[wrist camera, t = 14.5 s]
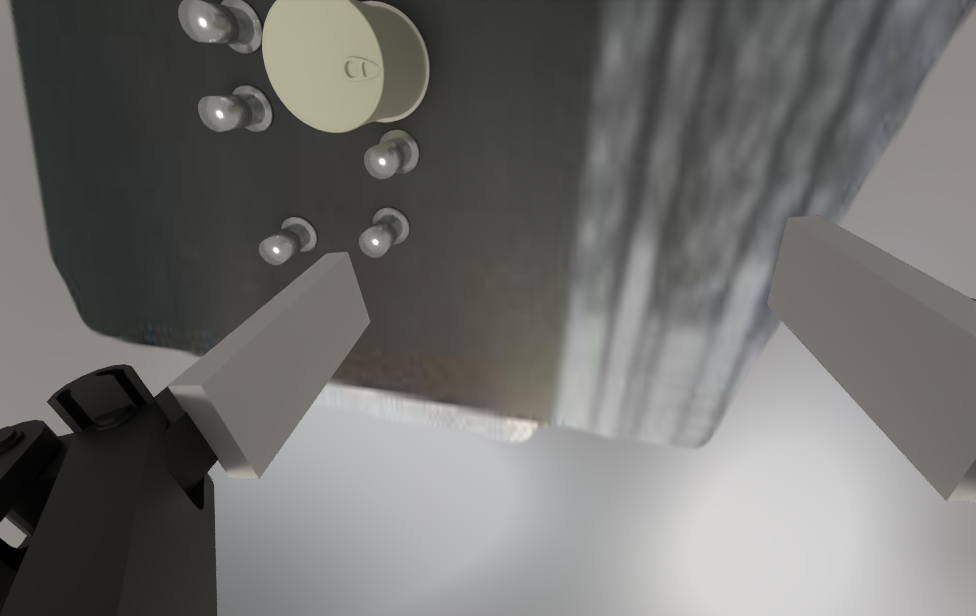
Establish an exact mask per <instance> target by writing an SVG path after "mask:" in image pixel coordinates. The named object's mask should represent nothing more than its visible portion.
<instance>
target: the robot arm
mask: <svg viewBox="0 0 976 616" xmlns="http://www.w3.org/2000/svg"><path fill="white" fill-rule="evenodd" d="M767 305H768V306H769V307H770V308H771V310H772V311H773V312H774V313H775V314H776V315H777V316H778V317H779V318H780V319H781V321H782V322H784V324H785V325H786V326H787V327H788V328H789V329H790V330H791V331H792V333H793V334H794V335H796V337H797V338H798V339H799V340H800V341H801V342H802V344H803V345H804V346H805V347H806V348H807V349H808V350H809V351H810V352H811V353H812V354H813V355H814V357H815V358H816V359H817V360H818V361H819V362H820V363H821V364H822V365H823V366H824V368H825V369H826V370H827V371H828V372H829V373H830V374H831V375H832V376H833V377H834V378H835V380H836V381H837V382H838V383H839V384H840V385H841V386H842V387H843V388H844V389H845V391H846V392H848V394H849V395H850V396H851V397H852V398H853V399H854V400H855V402H856V403H857V404H858V405H859V406H860V407H861V408H862V409H863V410H864V411H865V412H866V414H867V415H868V416H869V417H870V418H871V419H872V420H873V421H874V422H875V423H876V425H877V426H879V428H880V429H881V430H882V431H883V432H884V433H885V434H886V436H887V437H888V438H889V439H890V440H891V441H892V442H893V443H894V444H895V445H896V446H897V448H898V449H899V450H900V451H901V452H902V453H903V454H904V455H905V456H906V457H907V459H909V461H910V462H911V463H912V464H913V465H914V466H915V467H916V468H917V469H918V471H919V472H920V473H921V474H922V475H923V476H924V477H925V478H926V479H927V480H928V482H929V483H930V484H931V485H932V486H933V487H934V488H935V489H936V490H937V491H938V493H939V494H940V495H941V496H942V497H943V498H944V499H945V500H946V501H951V502H976V300H975V299H972V298H969V297H967V296H965V295H963V294H962V293H960V292H958V291H956V290H954V289H953V288H951V287H949V286H947V285H945V284H943V283H942V282H940V281H938V280H936V279H934V278H933V277H931V276H929V275H927V274H925V273H924V272H922V271H920V270H918V269H916V268H914V267H913V266H911V265H909V264H907V263H905V262H904V261H902V260H900V259H898V258H896V257H894V256H892V255H891V254H889V253H887V252H885V251H883V250H882V249H880V248H878V247H876V246H874V245H873V244H871V243H869V242H867V241H865V240H863V239H862V238H860V237H858V236H856V235H854V234H853V233H851V232H849V231H847V230H845V229H843V228H842V227H840V226H838V225H836V224H834V223H833V222H831V221H829V220H827V219H825V218H823V217H822V216H820V215H816V216H803V217H790V218H788V219H787V223H786V227H785V232H784V236H783V240H782V244H781V248H780V252H779V257H778V261H777V265H776V269H775V273H774V277H773V282H772V286H771V290H770V294H769V298H768V303H767ZM369 323H370V319H369V316H368V313H367V310H366V307H365V304H364V301H363V298H362V295H361V292H360V289H359V285H358V282H357V279H356V276H355V273H354V270H353V267H352V264H351V261H350V258H349V255H348V252H341V253H328V254H326V255H324V256H323V257H322V258H321V259H320V260H318V261H317V262H316V263H315V264H314V265H312V266H311V267H310V268H309V269H308V270H306V271H305V272H304V273H303V274H301V275H300V276H299V277H298V278H297V279H295V280H294V281H293V282H292V283H291V284H289V285H288V286H287V287H286V288H285V289H283V290H282V291H281V292H280V293H279V294H277V295H276V296H275V297H274V298H273V299H271V300H270V301H269V302H268V303H267V304H265V305H264V306H263V307H262V308H261V309H259V310H258V311H257V312H256V313H255V314H253V315H252V316H251V317H250V318H249V319H247V320H246V321H245V322H244V323H243V324H241V325H240V326H239V327H238V328H237V329H235V330H234V331H233V332H232V333H230V334H229V335H228V336H227V337H226V338H224V339H223V340H222V341H221V342H220V343H218V344H217V345H216V346H215V347H214V348H212V349H211V350H210V351H209V352H208V353H206V354H205V355H204V356H203V357H202V358H200V359H199V360H198V361H197V362H196V363H195V364H193V365H192V366H191V367H190V368H188V370H186V371H185V372H184V373H182V374H181V375H180V376H179V377H178V378H176V379H175V380H174V381H173V382H172V383H170V384H169V385H168V386H167V387H166V388H165V389H164V390H163V391H161V392H160V393H159V394H158V395H156V396H155V397H153V396H152V394H151V393H150V392H149V390H148V389H147V388H146V386H145V385H144V383H143V382H142V380H141V379H140V377H139V376H138V375H137V373H136V372H135V371H134V369H133V368H132V366H129V365H125V364H124V365H114V366H110V367H106V368H102V369H99V370H96V371H94V372H91V373H89V374H87V375H84V376H82V377H80V378H78V379H76V380H74V381H72V382H71V383H69V384H67V385H65V386H64V387H63V388H61V389H60V390H58V391H57V392H56V393H54V394H53V395H52V397H51V398H50V399H49V400H48V401H47V402H48V404H49V405H50V406H51V407H52V408H53V409H54V410H55V411H56V413H58V415H59V416H60V417H61V418H62V419H63V421H64V422H65V423H66V424H67V425H68V426H69V427H70V428H71V429H72V431H73V432H74V433H71V434H67V435H63V436H57V435H56V434H55V433H54V432H53V431H52V430H51V429H50V428H49V427H48V426H47V425H46V424H45V423H44V421H39V420H33V421H27V422H22V423H19V424H17V425H14V426H11V427H9V426H7V427H5V428H2V429H0V522H1V521H2V520H3V518H4V517H6V518H7V519H8V520H9V521H10V522H12V523H13V524H14V525H15V526H17V527H18V528H19V529H20V530H21V531H22V532H23V533H25V534H26V535H27V537H26V538H25V540H24V541H23V542H22V544H21V545H20V546H19V547H18V548H14V547H11V546H10V545H8V544H7V543H6V542H5V541H3V540H2V539H1V538H0V616H217V593H216V554H215V553H216V551H215V550H216V549H215V509H214V508H215V507H214V484H213V481H212V479H211V477H210V476H209V475H208V473H207V472H208V471H209V470H210V468H211V467H212V466H213V465H214V464H215V463H216V461H217V460H218V461H219V463H220V464H221V466H222V467H223V469H224V470H225V472H226V473H227V475H228V476H229V477H230V478H248V479H249V478H250V479H259V478H260V477H261V475H262V474H263V473H264V471H265V470H266V468H267V467H268V466H269V464H270V463H271V461H272V460H273V459H274V457H275V456H276V454H277V453H278V451H279V450H280V449H281V447H282V446H283V444H284V443H285V441H286V440H287V439H288V437H289V436H290V435H291V433H292V432H293V430H294V429H295V427H296V426H297V425H298V423H299V422H300V420H301V419H302V417H303V416H304V415H305V413H306V412H307V411H308V409H309V408H310V406H311V405H312V404H313V402H314V401H315V399H316V398H317V396H318V395H319V394H320V392H321V391H322V389H323V388H324V387H325V385H326V384H327V382H328V381H329V380H330V378H331V377H332V375H333V374H334V372H335V371H336V370H337V368H338V367H339V365H340V364H341V363H342V361H343V360H344V358H345V357H346V356H347V354H348V353H349V351H350V350H351V348H352V347H353V346H354V344H355V343H356V341H357V340H358V339H359V337H360V336H361V334H362V333H363V332H364V330H365V329H366V327H367V326H368V324H369Z"/></svg>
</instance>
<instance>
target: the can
mask: <svg viewBox="0 0 976 616" xmlns="http://www.w3.org/2000/svg"><path fill="white" fill-rule="evenodd" d="M262 51H263V58H264V63H265V68H266V71H267V74H268V77H269V79H270V82H271V84H272V86H273V88H274V90H275V92H276V93H277V95H278V96H279V98H280V99H281V101H282V102H283V103H284V105H285V106H286V107H287V108H288V109H289V110H290V111H291V112H292V113H293V114H294V115H295V116H296V117H297V118H299V119H300V120H301V121H303V122H304V123H306V124H308V125H310V126H311V127H314V128H316V129H319V130H322V131H326V132H333V133H338V132H347V131H350V130H353V129H356V128H358V127H359V126H361V125H364V124H367V123H370V122H373V121H377V120H380V119H383V118H393V117H397V116H400V115H402V114H404V113H406V112H407V111H408V110H410V109H411V108H412V107H413V106H414V105H415V104H416V102H417V101H418V99H419V98H420V96H421V93H422V91H423V88H424V85H425V80H426V60H425V54H424V50H423V47H422V45H421V42H420V40H419V38H418V36H417V34H416V32H415V31H414V29H413V28H412V27H411V25H410V24H409V23H408V22H407V21H406V20H405V19H404V18H403V17H401V16H400V15H399V14H397V13H396V12H394V11H392V10H390V9H388V8H385V7H381V6H372V5H368V4H366V3H363V2H360V1H357V0H277V1H276V2H275V3H274V4H273V6H272V7H271V9H270V11H269V13H268V15H267V18H266V20H265V24H264V28H263V35H262Z"/></svg>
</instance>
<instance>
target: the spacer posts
mask: <svg viewBox="0 0 976 616" xmlns="http://www.w3.org/2000/svg"><path fill="white" fill-rule="evenodd" d="M178 14H179V20H180V23H181V25H182V27H183V29H184V30H185V32H186V33H187V34H188V35H189V36H190V37H191V38H192V39H194V40H196V41H199V42H210V43H223V44H228V45H229V46H230V47H232V48H233V49H234V50H236V51H238V52H240V53H248V54H249V53H254V52H256V51H257V50H258V49H259V48H260V47H261V45H262V35H263V25H262V22H261V20H260V18H259V16H258V14H257V12H256V11H255V10H254V9H253V7H252V6H250V5H249V4H248V3H247V2H245V1H243V0H224V1H223V2H222V3H221V4H216V3H211V2H205V1H200V0H184V1H182V2H181V4H180V6H179V12H178ZM198 111H199V115H200V117H201V119H202V121H203V122H204V123H205V125H206V126H207V127H209V128H210V129H212V130H214V131H217V132H222V131H227V130H232V129H237V128H242V127H245V128H247V129H249V130H251V131H255V132H260V131H264V130H267V129H268V128H269V127H270V126H271V124H272V122H273V118H274V114H273V108H272V105H271V103H270V101H269V99H268V98H267V96H266V95H265V94H264V93H263V92H262V91H261V90H259V89H258V88H256V87H253V86H248V85H246V86H240V87H238V88H236V89H235V90H234V92H233V94H232V95H220V96H208V97H204V98H202V99H201V100H200V102H199V105H198ZM419 156H420V152H419V147H418V144H417V142H416V140H415V139H414V138H413V137H412V136H411V135H410V134H409V133H407V132H406V131H403V130H398V129H396V130H391V131H389V132H387V133H385V134H384V135H383V136H382V138H381V139H380V142H379V144H378V145H375V146H373V147H371V148H369V149H368V150H367V152H366V153H365V156H364V163H365V167H366V169H367V171H368V172H369V173H370V174H371V175H372V176H374V177H375V178H378V179H386V178H388V177H390V176H391V175H393V174H394V173H400V174H403V173H407V172H409V171H411V170H412V169H414V168H415V166H416V165H417V163H418V161H419ZM372 224H373V225H372V226H371V227H369V228H368V229H367V230H366V231H365V232H364V233H363V234H362V235H361V236H360V238H359V245H360V248H361V249H362V251H363V252H364V253H365V254H366V255H368V256H370V257H374V258H377V257H381V256H382V255H384V254H385V252H386V251H387V250H388V249H389V248H390V247H391V246H392V245H393V244H399V243H401V242H403V241H404V240H405V239H406V238H407V237H408V235H409V232H410V225H409V221H408V219H407V217H406V216H405V215H404V214H403V213H402V212H401V211H399V210H398V209H395V208H391V207H386V208H382V209H381V210H379V211H378V212H377V213H376V214H375V215H374V218H373V223H372ZM317 241H318V236H317V232H316V230H315V228H314V226H313V225H312V224H311V223H310V222H309V221H308V220H306V219H304V218H302V217H298V216H294V217H290V218H288V219H286V220H285V221H284V222H283V224H282V229H281V230H280V231H279V232H277V233H275V234H274V235H272V236H270V237H269V238H267V239H265V240H264V241H262V242H261V243H260V245H259V251H260V254H261V256H262V257H263V259H264V260H266V261H267V262H268V263H270V264H273V265H280V264H282V263H283V262H284V261H286V260H287V259H289V258H290V257H291V256H293V255H294V254H295V253H297V252H298V251H303V252H305V251H309V250H311V249H312V248H314V247H315V246H316V244H317Z"/></svg>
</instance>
